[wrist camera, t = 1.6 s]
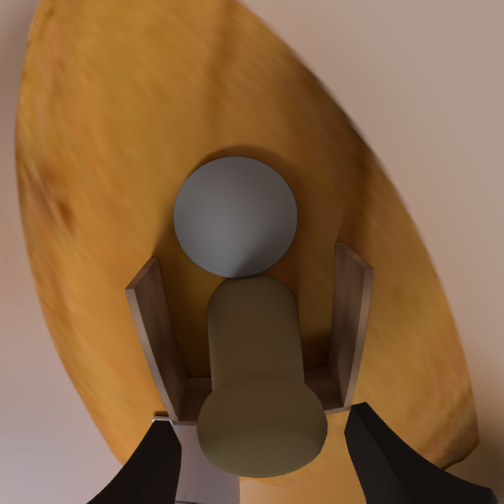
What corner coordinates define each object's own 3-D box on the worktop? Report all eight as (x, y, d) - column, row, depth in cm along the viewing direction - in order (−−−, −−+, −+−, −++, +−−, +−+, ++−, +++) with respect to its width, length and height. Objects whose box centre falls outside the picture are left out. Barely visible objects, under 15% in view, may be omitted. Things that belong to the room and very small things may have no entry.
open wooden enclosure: (333, 369, 20) (349, 409, 16) (182, 382, 20) (173, 424, 16) (343, 241, 17) (373, 268, 13) (150, 257, 17) (124, 289, 13)
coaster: (297, 268, 17) (298, 272, 17) (184, 277, 17) (183, 281, 17) (292, 152, 15) (294, 152, 15) (169, 163, 15) (166, 164, 15)
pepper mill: (252, 363, 20) (263, 499, 9) (188, 316, 18) (150, 459, 8) (315, 312, 19) (374, 447, 8) (251, 254, 17) (269, 393, 7)
